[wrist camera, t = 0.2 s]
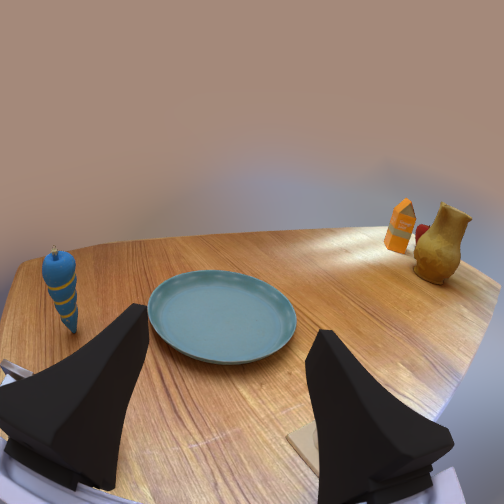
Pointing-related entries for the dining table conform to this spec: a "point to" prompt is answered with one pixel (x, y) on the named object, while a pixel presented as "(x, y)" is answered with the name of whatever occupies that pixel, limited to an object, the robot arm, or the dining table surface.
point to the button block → (306, 444)
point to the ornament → (62, 285)
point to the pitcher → (441, 245)
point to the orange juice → (400, 227)
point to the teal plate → (221, 316)
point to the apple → (421, 231)
